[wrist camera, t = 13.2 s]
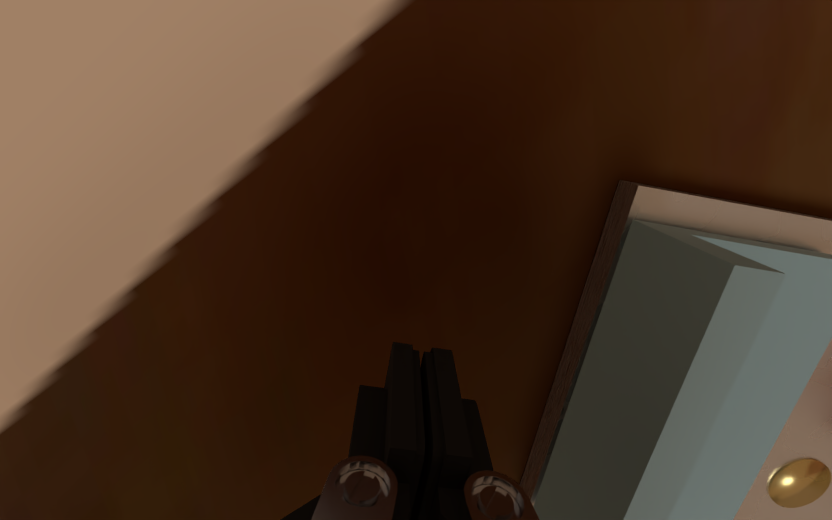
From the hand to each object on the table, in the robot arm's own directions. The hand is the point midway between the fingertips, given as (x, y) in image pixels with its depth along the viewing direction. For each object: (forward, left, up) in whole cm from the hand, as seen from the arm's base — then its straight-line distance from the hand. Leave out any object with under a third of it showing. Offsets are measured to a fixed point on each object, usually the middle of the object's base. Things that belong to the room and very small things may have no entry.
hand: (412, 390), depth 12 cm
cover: (+9, 0, -2) cm, 10 cm away
